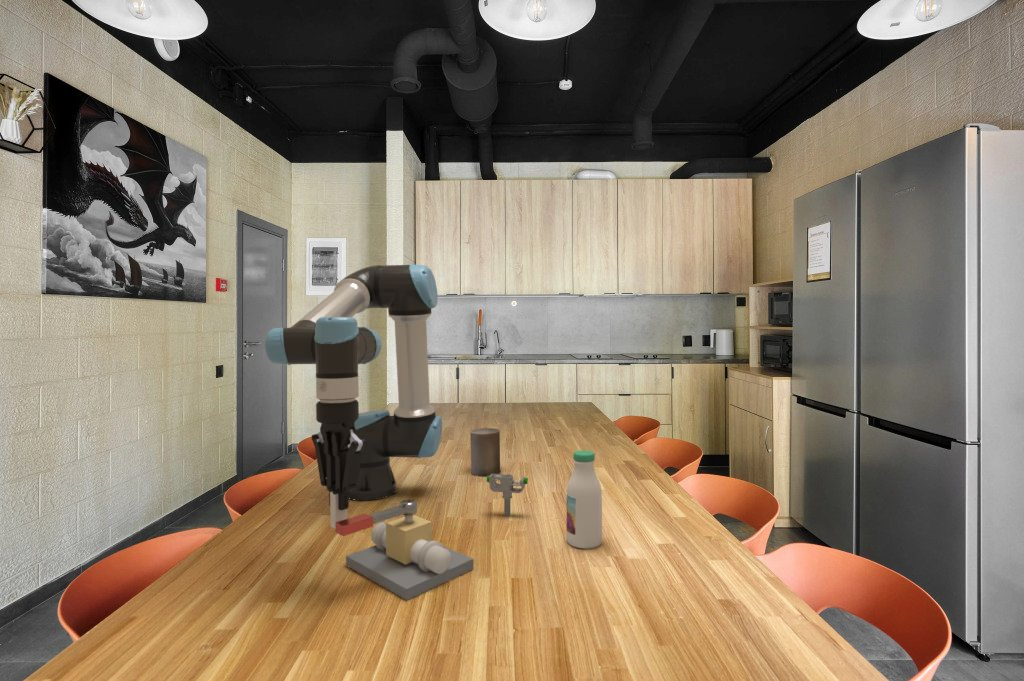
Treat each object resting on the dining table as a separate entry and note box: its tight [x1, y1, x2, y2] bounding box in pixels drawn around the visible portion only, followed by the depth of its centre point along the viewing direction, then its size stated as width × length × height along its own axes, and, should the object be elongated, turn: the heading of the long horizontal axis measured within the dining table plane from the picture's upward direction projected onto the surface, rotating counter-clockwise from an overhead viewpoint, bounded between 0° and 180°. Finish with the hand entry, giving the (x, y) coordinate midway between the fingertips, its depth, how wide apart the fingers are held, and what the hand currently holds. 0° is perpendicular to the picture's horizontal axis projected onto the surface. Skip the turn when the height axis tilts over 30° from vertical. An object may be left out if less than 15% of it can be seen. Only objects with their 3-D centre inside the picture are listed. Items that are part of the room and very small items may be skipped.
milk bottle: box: [566, 449, 603, 550], centre depth 116 cm, size 8×8×20 cm
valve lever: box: [334, 499, 418, 537], centre depth 99 cm, size 17×3×2 cm, turn 138°
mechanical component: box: [486, 473, 529, 517], centre depth 133 cm, size 3×10×10 cm, turn 79°
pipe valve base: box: [345, 514, 475, 601], centre depth 105 cm, size 20×16×11 cm
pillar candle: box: [469, 426, 501, 477], centre depth 172 cm, size 10×10×15 cm
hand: (339, 525), depth 99 cm, fingers closed
